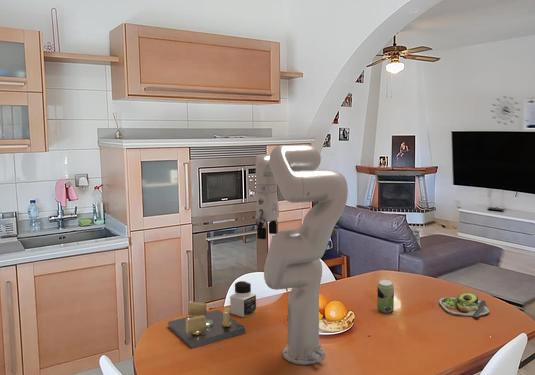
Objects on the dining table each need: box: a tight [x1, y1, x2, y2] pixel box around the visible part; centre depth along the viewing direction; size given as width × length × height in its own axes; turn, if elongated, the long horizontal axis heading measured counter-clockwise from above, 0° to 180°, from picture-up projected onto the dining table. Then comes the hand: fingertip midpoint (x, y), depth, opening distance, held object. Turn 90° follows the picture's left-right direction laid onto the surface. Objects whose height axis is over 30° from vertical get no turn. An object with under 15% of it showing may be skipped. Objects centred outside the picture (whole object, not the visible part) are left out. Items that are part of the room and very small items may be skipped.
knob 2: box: [222, 306, 231, 327], centre depth 159 cm, size 3×6×6 cm, turn 1°
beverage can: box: [376, 279, 395, 314], centre depth 174 cm, size 6×7×12 cm
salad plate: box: [438, 292, 490, 318], centre depth 175 cm, size 19×18×5 cm
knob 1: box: [186, 315, 206, 335], centre depth 152 cm, size 3×6×6 cm, turn 123°
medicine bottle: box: [229, 280, 257, 318], centre depth 175 cm, size 7×7×12 cm
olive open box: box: [187, 300, 208, 317], centre depth 166 cm, size 3×6×6 cm, turn 70°
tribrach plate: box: [167, 309, 246, 349], centre depth 160 cm, size 20×20×4 cm
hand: (267, 236), depth 166 cm, fingers open, 9 cm apart
